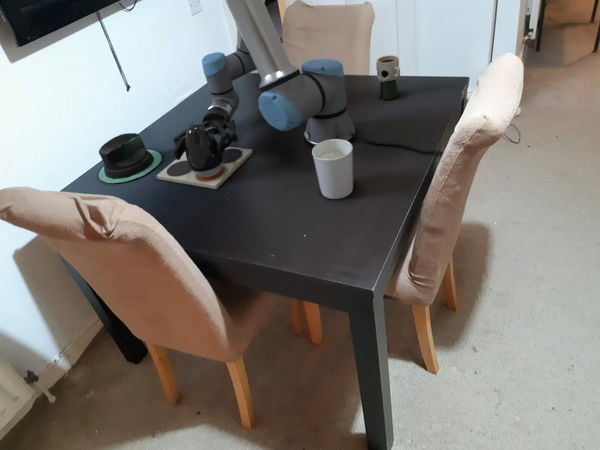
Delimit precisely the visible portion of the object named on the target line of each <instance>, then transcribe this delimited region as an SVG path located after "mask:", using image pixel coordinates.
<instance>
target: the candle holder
mask: <svg viewBox="0 0 600 450" xmlns="http://www.w3.org/2000/svg"><path fill="white" fill-rule="evenodd" d="M353 151H354V147H353V144H352V143H351V141H350V142H348V141H345V140H341V139H331V140H326V141H323V142H321V143H319V144H317V145H316V146H315V147H313V148H312V150H311V155H312V158H313V162H314V167H315V171H316V176H317V181H318V187H319V189H320V192H321V195H322V196H323V197H324V198H327V199H329V200H339V199H345V198H346V197H348V196H349V195H351V194H352V192H353V189H354V162H353V161H354V157H353Z"/></svg>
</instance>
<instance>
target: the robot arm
mask: <svg viewBox="0 0 600 450" xmlns="http://www.w3.org/2000/svg"><path fill="white" fill-rule="evenodd" d="M224 1H225V3H226V5H227V8H228V10H229V12H230V14H231V16H232V18H233V21H234V22H235V25H236V27H237V28H236V29H237V30H236V49H235V51H233V52H231V53H229V54H227V55H226V54H225V53H224V52H221V51H215V52H212V53H208V54H206V55H205V56H203V57H202V59H201V64H202V71H203V74H204V77H205V80H206V83H207V86H208V89H209V93H210V97H211V101H212V102H211V104H210V105H209V107H208V108H207V110H206V111H205V113H204V115H203V117H202V122H201V123H200V124H201V125H203V126H205V127H206V128H209V127H211V126H213V127H214V130H213V131H211V132H210V133H211V134H212V135H213V136H216V135H218V137H220V140H219V142H218V146H217V151H218V155H219V157H221V156H222V155H223V153H224V151H225V149H226V148H228V147H230V144H232V143H233V142H234V143H238V142H239V137H238V134H237V131H236V129H237V126H236V122H235V120H234V119H233V117H234V114H235V113H236V111H237V110H238V108H239V105H240V101H241V99H240V94H239V93H238V91H237V90H236V89H235V88H234V84H233V82H234V81H236V80H237V79H239V78H241V77H243V76H245V75H247V74H251V73H253V72H255V71H257V72H258V74H259V77H260V81H259V82H260V83H259V85H258V88H259V91H260V93H261V94H260V95H259V97H258V109H259V111H260V114H261V116H262V117H263V119H264V120H265V121H266V122H267V124H269V126H271V128H272V127H273V128H274V129H276V130H277V131H281V132H289V131H290V130H293V129H294V128H298V127H300V126H301V125H302V124H303V123H305V122H306V121H307V122H306V127H305V131H304V134H303V136H304V137H305V141H306V144H307V145H309V146H311V147H313V148H314V147H315V146H316V145H317V144H319V143H321V142H323V141H326V140H331V139H341V140H345V141H348V142H350V143H351V141H353V140H354V138H358V139H361V140H363V141H367V142H368V143H371V144H373V145H380V146H392V147H394V146H395V147H400V148H406V149H409V150H412V151H416V152H420V153H425V154H435V153H436V154H439V155H441V156H443V155H442V154H443V153H444V152H443V151H441V150H439V149H423V148H417V147H414V146H411V145H407V144H402V143H397V142H383V141H382V142H381V141H376V140H372V139H370V138H367V137H365V136H362V135H359V134H356V126H355V124H354V123H353V120H352V118H351V116H350V113H349V112H348V105H347V92H346V77H345V76H346V75H345V73H344V72H345V71H344V66H343V63H342V62H340V61H339V60H337V59H332V58H316V59H311V60H310V59H309V60H306V61H304V62H302V63H301V65H300V66H301V67H300V68H299V67H298V66H296V65H293V64H292V63H291V61H290V59H289V57H288V54H287V52H286V50H285V48H284V46H283V43H282V41H281V39H280V37H279V34H278V32H277V29H276V27H275V24H274V23H273V20H272V18H271V16H270V13H269V11H268V9H267V6H266V4H265V1H266V0H224ZM192 124H195V123H190V125H189V126H191V125H192ZM189 126H188V127H187V128H185V129H184V130H183V131H182V132H180V133H179V134H178V135H176V136H175V137H173V139H172V140H173V142H174V145H175V146H174V148H175V149H174V150H173V153H174V156H175V158H176V159H177V160H180V158H181V156H182V155H183V153H184V152H185V138H186V132H187V129H188V128H189ZM227 129H229V131H227ZM176 159H175V160H176Z"/></svg>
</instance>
